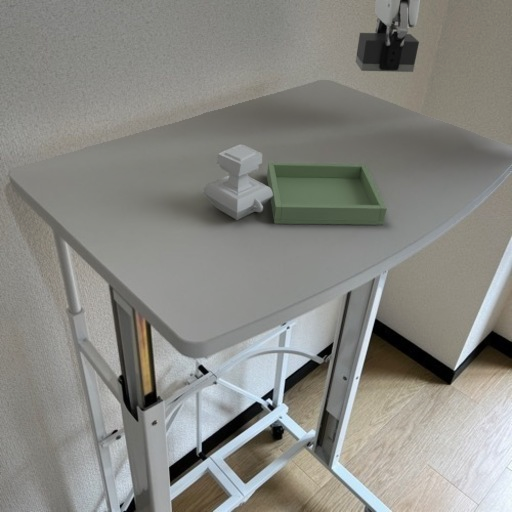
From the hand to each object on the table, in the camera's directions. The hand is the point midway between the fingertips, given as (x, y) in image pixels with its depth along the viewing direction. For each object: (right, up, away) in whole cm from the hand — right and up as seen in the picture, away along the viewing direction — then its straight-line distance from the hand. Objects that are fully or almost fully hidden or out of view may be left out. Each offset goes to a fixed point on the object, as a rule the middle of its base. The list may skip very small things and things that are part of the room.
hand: (384, 63), depth 96 cm
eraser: (0, -1, 0) cm, 1 cm away
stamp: (-25, -28, -21) cm, 43 cm away
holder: (-13, -26, -18) cm, 34 cm away
